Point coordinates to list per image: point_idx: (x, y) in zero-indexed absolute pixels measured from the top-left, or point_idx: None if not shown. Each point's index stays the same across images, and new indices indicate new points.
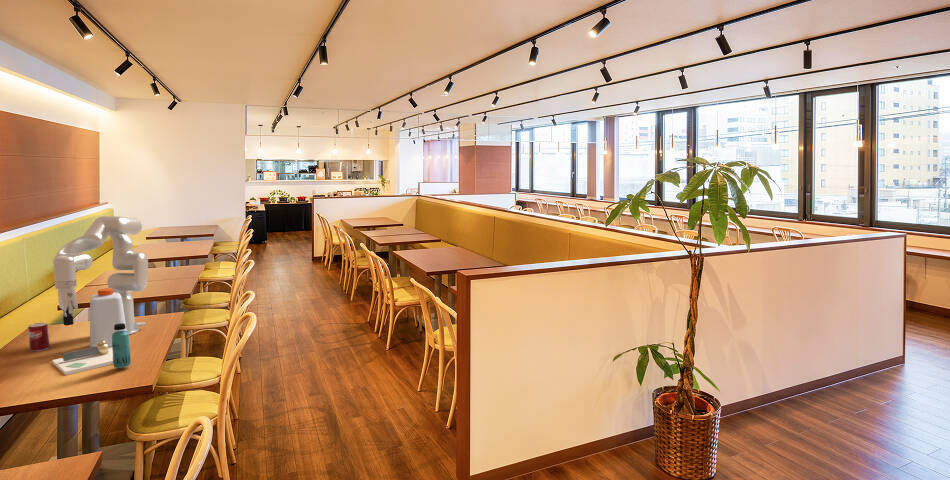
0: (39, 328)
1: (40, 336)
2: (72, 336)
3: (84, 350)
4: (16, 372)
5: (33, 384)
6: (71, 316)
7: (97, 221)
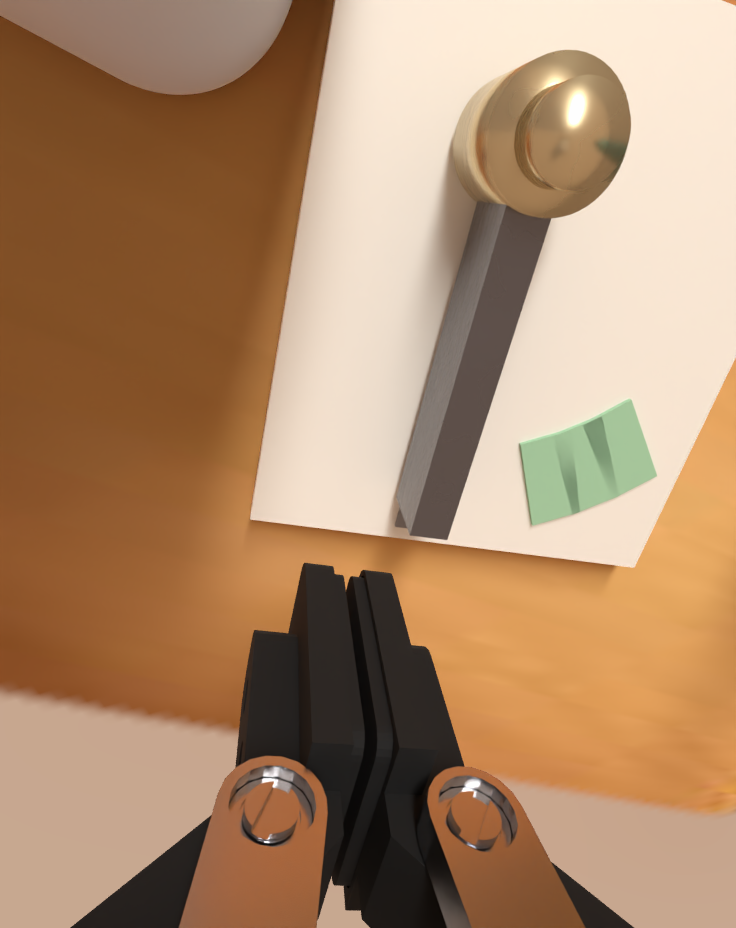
0: None
1: None
2: None
3: (502, 358)
4: None
5: (579, 699)
6: (424, 764)
7: None
